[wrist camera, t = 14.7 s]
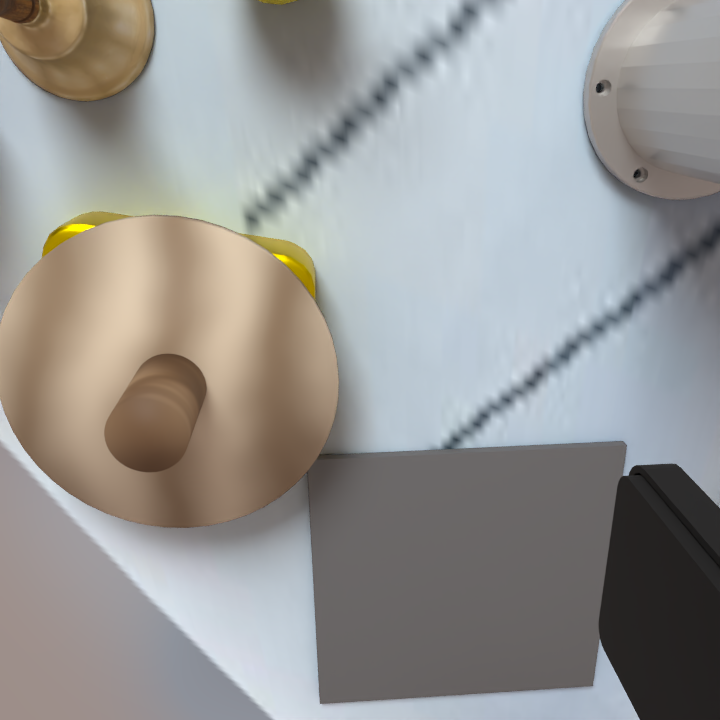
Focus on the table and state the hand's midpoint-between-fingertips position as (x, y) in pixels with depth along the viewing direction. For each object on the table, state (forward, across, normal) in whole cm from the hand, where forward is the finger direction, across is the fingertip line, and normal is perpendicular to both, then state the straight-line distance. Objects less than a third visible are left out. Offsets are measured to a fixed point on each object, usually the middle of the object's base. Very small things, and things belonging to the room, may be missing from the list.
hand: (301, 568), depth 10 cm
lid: (+29, +8, +9) cm, 32 cm away
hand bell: (+34, +12, -10) cm, 37 cm away
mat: (+33, -10, +28) cm, 45 cm away
